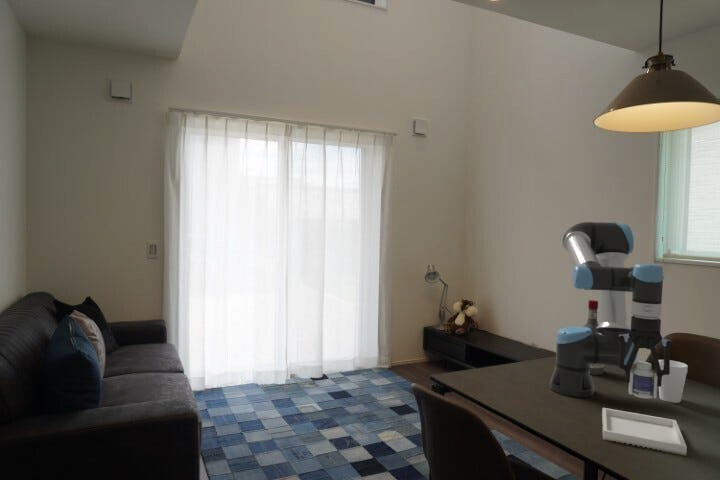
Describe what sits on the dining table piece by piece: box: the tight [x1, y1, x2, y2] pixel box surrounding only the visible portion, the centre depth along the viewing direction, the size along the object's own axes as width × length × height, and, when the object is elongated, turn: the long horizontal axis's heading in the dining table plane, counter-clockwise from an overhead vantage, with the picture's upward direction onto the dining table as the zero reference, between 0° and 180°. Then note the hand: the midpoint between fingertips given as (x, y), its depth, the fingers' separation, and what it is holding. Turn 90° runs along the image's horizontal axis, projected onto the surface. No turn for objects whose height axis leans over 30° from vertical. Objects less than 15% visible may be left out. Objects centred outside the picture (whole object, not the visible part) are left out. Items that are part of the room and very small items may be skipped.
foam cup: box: [658, 359, 688, 404], centre depth 172 cm, size 10×9×13 cm
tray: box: [601, 407, 688, 456], centre depth 143 cm, size 20×20×2 cm
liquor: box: [582, 299, 605, 376], centre depth 203 cm, size 9×9×30 cm
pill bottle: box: [632, 360, 654, 399], centre depth 142 cm, size 5×5×10 cm
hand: (642, 394), depth 142 cm, fingers closed on pill bottle, 5 cm apart
